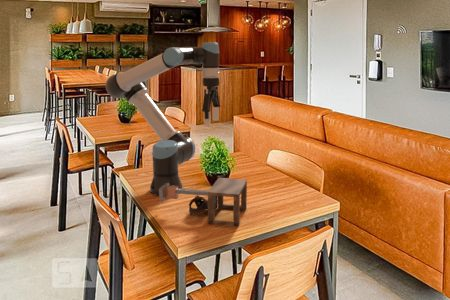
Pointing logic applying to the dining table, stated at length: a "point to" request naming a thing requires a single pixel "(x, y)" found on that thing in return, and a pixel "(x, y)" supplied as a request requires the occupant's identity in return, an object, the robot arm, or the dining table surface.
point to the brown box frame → (173, 192)
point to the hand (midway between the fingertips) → (211, 123)
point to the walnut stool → (227, 189)
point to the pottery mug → (198, 205)
